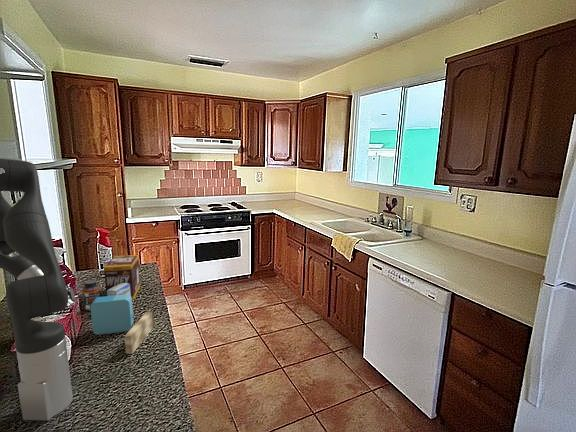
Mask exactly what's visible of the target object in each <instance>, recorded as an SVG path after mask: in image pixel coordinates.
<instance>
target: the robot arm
mask: <svg viewBox="0 0 576 432" xmlns="http://www.w3.org/2000/svg"><path fill="white" fill-rule="evenodd" d="M0 168H3V169H4V170H5V173H2V174H0V269H2V270H4V271H6V272H7V273H8V274H10V275H11V276H12V277H13V278H15V279H16V280H13V281H10V282H9V283H8V285H7V286H6V288H5V301H6V304H7V309H8V314H9V316H10V317H9V318H10V321H11V326H12V330H13V331H12V332H13V338H14V346H15V351H16V358H17V364H18V369H19V370H18V371H19V376H20V381H19V382H18V383H17V390H18V396H19V403H20V408H21V409H20V410H21V415H22V421H50V420H51V419H52V418H53V417H54V416H56V415H58V414H60V413H62V412H63V411H64V410H66V409H67V408H68V407H69V406H70V405H71V403H72V401H73V399H74V396H73V388H72V386H73V385H72V379H71V372H70V371H71V370H70V365H69V356H68V355H69V354H68V348H67V347H68V346H67V341H66V331H65V327H64V325H63V324H61V323H59V322H55V321H39V320H34V319H35V318H39V317H44V316H48V315H51V314H54V313H60V312H59V311H61V310H63V309H65V308H66V307H67V306H69V305H70V304H72V303H74V302H75V301H76V300H77V299H76V296H75V293H74V288H73V287H69V288H67V285H66V284H67V283H66V281H65V279H64V275H63V272H62V269H61V267H60V263H59V261H58V258H57V255H56V252H55V245H54V242H53V237H52V232H51V227H50V223H49V220H48V217H47V214H46V211H45V207H44V202H43V199H42V194H41V187H40V185H41V184H40V180H39V179H40V178H39V174H38V169H37V167H36V165H35V164H34V163H33V162H30V161H27V160H20V159H19V160H17V159H10V158H8V159H7V158H0ZM2 192H13V193H15V192H18V193H19V192H20V193H23V195H22V196H21V198H20V199H19V200H18V201H17V202H16V203H15V204H13V206H12V205H11V204H10V203H9V202H8V201H7V200H6V198H4V196H3V194H2ZM15 252H16V254H18V255H15V256H13V255H12V256H10V255H11V254H13V253H15ZM74 304H75V303H74ZM76 307H77V306H76ZM63 311H64V310H63ZM61 312H62V311H61ZM76 312H77V316H78V315H80V314H81V312H82V311H81V310H80V308H79V307H77V310H76Z"/></svg>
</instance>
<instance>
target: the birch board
mask: <svg viewBox="0 0 576 432" xmlns="http://www.w3.org/2000/svg"><path fill="white" fill-rule="evenodd" d="M154 327H155V320H154V311H153V310H146V312H145V313H144V314H143V315H142V316H141V317H140V319H139V320H138V321H136V323H135V324H134V325H132V327H131V329H130V330H129V331H127V333H126V334H125V335H124V345H125V354H128V355H132V354H134V352H135V351H136V350H137V349H138V347H139V346H140V345H141V344H142V342H143V341H144V340H145V339H146V337H147V336H148V334H149V333H150V332H151V331H152V330H153V328H154Z"/></svg>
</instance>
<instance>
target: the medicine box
mask: <svg viewBox="0 0 576 432" xmlns="http://www.w3.org/2000/svg"><path fill="white" fill-rule="evenodd" d="M126 294H128V295H130V296H131V293H130V284H128V283H120V284H118V285H116V286H114V287H112V288H111V289H109V290H107V296H115V295H126Z"/></svg>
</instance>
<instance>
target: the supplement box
mask: <svg viewBox="0 0 576 432" xmlns="http://www.w3.org/2000/svg"><path fill="white" fill-rule="evenodd" d="M139 261H140V260H139V255H138V254H132V255H131V254H130V255H128V254H127V255H114V256H112V258H111V259H110V260H109V261H108V262H107V263H106V264H105V265H104V267H103V272H104V284H105V293H106V296H107V290H109V289H111V288H112V287H114V286H116V285H118V284H120V283H128V284H130V293H131V297H132V301H134V299H135V297H136V295H137V294H138V293H139V290H140V287H141V279H140V278H141V277H140V276H141V275H140V262H139Z"/></svg>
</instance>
